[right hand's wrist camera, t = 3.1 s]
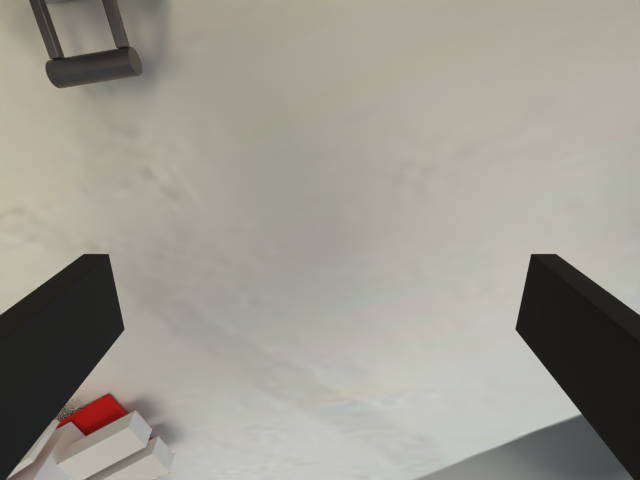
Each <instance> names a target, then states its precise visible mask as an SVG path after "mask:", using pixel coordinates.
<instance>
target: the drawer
mask: <svg viewBox="0 0 640 480" xmlns="http://www.w3.org/2000/svg"><path fill="white" fill-rule="evenodd" d="M29 1H30V4H31V7H32V10H33V12H34V15H35V18H36V21H37V24H38V26H39V29H40V32H41V35H42V37H43V40H44V43H45V46H46V49H47V51H48V54H49V57H50V59H53V60H49V61H47V63H46V73H47V76H48V78H49V80H50V81H51V82H52V84H53V85H54V86H56V87H57V88H66V87H72V86H78V85H85V84H91V83H97V82H103V81H109V80H116V79H122V78H128V77H134V76H140V75H141V74H142V64H141V60H140V58H139V55H138V54H137V52H136V50H135V49H134V48H132V47H130V46H129V42H128V39H127V36H126V32H125V29H124V25H123V22H122V18H121V15H120V11H119V8H118V4H117V1H116V0H102V1H103V5H104V8H105V11H106V15H107V18H108V21H109V25H110V28H111V31H112V35H113V38H114V41H115V45H116V47H117V48H118V49H114V50H108V51H102V52H96V53H90V54H84V55H78V56H72V57H66V58H64V54H63V51H62V49H61V46H60V43H59V40H58V37H57V34H56V31H55V28H54V26H53V23H52V20H51V17H50V14H49V11H48V8H47V5H46V4H51V3H57V2H62V1H68V0H29Z"/></svg>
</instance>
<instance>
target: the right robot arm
mask: <svg viewBox="0 0 640 480" xmlns="http://www.w3.org/2000/svg"><path fill="white" fill-rule="evenodd" d="M123 331H124V325H123V320H122V315H121V310H120V306H119V301H118V296H117V291H116V287H115V282H114V277H113V272H112V268H111V263H110V258H109V254H83V255H82V256H81V257H79V258H78V259H77V260H75V261H74V262H72V263H71V264H70V265H68V266H67V267H66V268H64V269H63V270H62V271H60V272H59V273H57V274H56V275H55V276H53V277H52V278H51V279H49V280H48V281H46V282H45V283H44V284H42V285H41V286H40V287H38V288H37V289H36V290H34V291H33V292H31V293H30V294H29V295H27V296H26V297H25V298H23V299H22V300H20V301H19V302H18V303H16V304H15V305H14V306H12V307H11V308H10V309H8V310H7V311H5V312H4V313H3V314H1V315H0V480H6V479H7V478H8V477H9V475H10V474H11V473H12V471H13V470H14V469H15V468H16V466H17V465H18V464H19V463H20V461H21V460H22V459H23V458H24V456H25V455H26V454H27V452H28V451H29V450H30V449H31V447H32V446H33V445H34V444H35V442H36V441H37V440H38V439H39V437H40V436H41V435H42V433H43V432H44V431H45V430H46V428H47V427H48V426H49V425H50V423H51V422H52V421H53V419H54V418H55V417H56V416H57V414H58V413H59V412H60V411H61V409H62V408H63V407H64V406H65V404H66V403H67V402H68V400H69V399H70V398H71V397H72V395H73V394H74V393H75V392H76V390H77V389H78V388H79V387H80V385H81V384H82V383H83V381H84V380H85V379H86V378H87V376H88V375H89V374H90V373H91V371H92V370H93V369H94V367H95V366H96V365H97V364H98V362H99V361H100V360H101V359H102V357H103V356H104V355H105V354H106V352H107V351H108V350H109V348H110V347H111V346H112V345H113V343H114V342H115V341H116V340H117V338H118V337H119V336H120V335H121V333H122V332H123ZM516 331H517V332H518V333H519V335H520V336H521V337H522V338H523V340H524V341H525V342H526V343H527V345H528V346H529V347H530V348H531V350H532V351H533V352H534V354H535V355H536V356H537V357H538V359H539V360H540V361H541V362H542V364H543V365H544V366H545V367H546V369H547V370H548V371H549V373H550V374H551V375H552V376H553V378H554V379H555V380H556V381H557V383H558V384H559V385H560V387H561V388H562V389H563V390H564V392H565V393H566V394H567V395H568V397H569V398H570V399H571V400H572V402H573V403H574V404H575V406H576V407H577V408H578V409H579V411H580V412H581V413H582V414H583V416H584V417H585V418H586V419H587V421H588V422H589V423H590V425H591V426H592V427H593V428H594V430H595V431H596V432H597V433H598V435H599V436H600V437H601V439H602V440H603V441H604V442H605V444H606V445H607V446H608V447H609V449H610V450H611V451H612V452H613V454H614V455H615V456H616V457H617V459H618V460H619V461H620V463H621V464H622V465H623V466H624V468H625V469H626V470H627V471H628V473H629V474H630V475H631V477H632V478H633V479H634V480H640V315H639V314H637V313H636V312H635V311H633V310H632V309H630V308H629V307H628V306H626V305H625V304H624V303H622V302H621V301H620V300H618V299H617V298H615V297H614V296H613V295H611V294H610V293H609V292H607V291H606V290H604V289H603V288H602V287H600V286H599V285H598V284H596V283H595V282H594V281H592V280H591V279H589V278H588V277H587V276H585V275H584V274H583V273H581V272H580V271H578V270H577V269H576V268H574V267H573V266H572V265H570V264H569V263H568V262H566V261H565V260H563V259H562V258H561V257H559V256H558V255H557V254H531V258H530V263H529V268H528V272H527V277H526V282H525V287H524V291H523V296H522V301H521V306H520V310H519V315H518V320H517V325H516Z"/></svg>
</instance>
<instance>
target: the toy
mask: <svg viewBox="0 0 640 480" xmlns="http://www.w3.org/2000/svg"><path fill="white" fill-rule="evenodd" d="M151 432H152V428H151V427H150V426H149V425H148V424H147V423H146V421H145V420H144V419H143V418H142V417H141V416H140V415H139V413H138V412H137V411H136V410H135V411H133V412H131V413H129V414H127V413H126V412H125V411H124V410H123V408H122V407H121V406H120V405H119V404H118V403H117V402H116V401H115V400H114V399H113V398H112V397H111V396H110V395H109V394H107V395H106V396H104V397H102V398H100V399H99V400H97V401H95V402H94V403H92V404H90V405H88V406H87V407H85V408H83V409H81V410H80V411H78V412H76V413H75V414H73V415H71V416H69V417H68V418H66V419H64V420H62V421H61V422H59V421H58V420H57V419H54V420H53V421H52V422H51V423H50V425H49V426H48V427H47V428H46V430H45V431H44V432H43V433H42V435H41V436H40V437H39V439H38V440H37V441H36V442H35V444H34V445H33V446H32V447H31V449H30V450H29V451H28V452H27V454H26V455H25V456H24V458H23V459H22V460H21V461H20V463H19V464H18V465H17V466H16V468H15V469H14V470H13V471H12V473H11V474H10V475H9V477H8V478H7V479H6V480H155V479H157V478H159V477H161V476H163V475H165V474H166V473H168V472H169V470H170V467H171V463H172V460H173V456H174V453H173V452H172V451H171V450H170V449H169V447H168V446H167V445H166V444H165V443H164V442H163V441H162V440H161V438H160V437H159V436H157V437H155V438H153V439H151V438H150V434H151Z"/></svg>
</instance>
